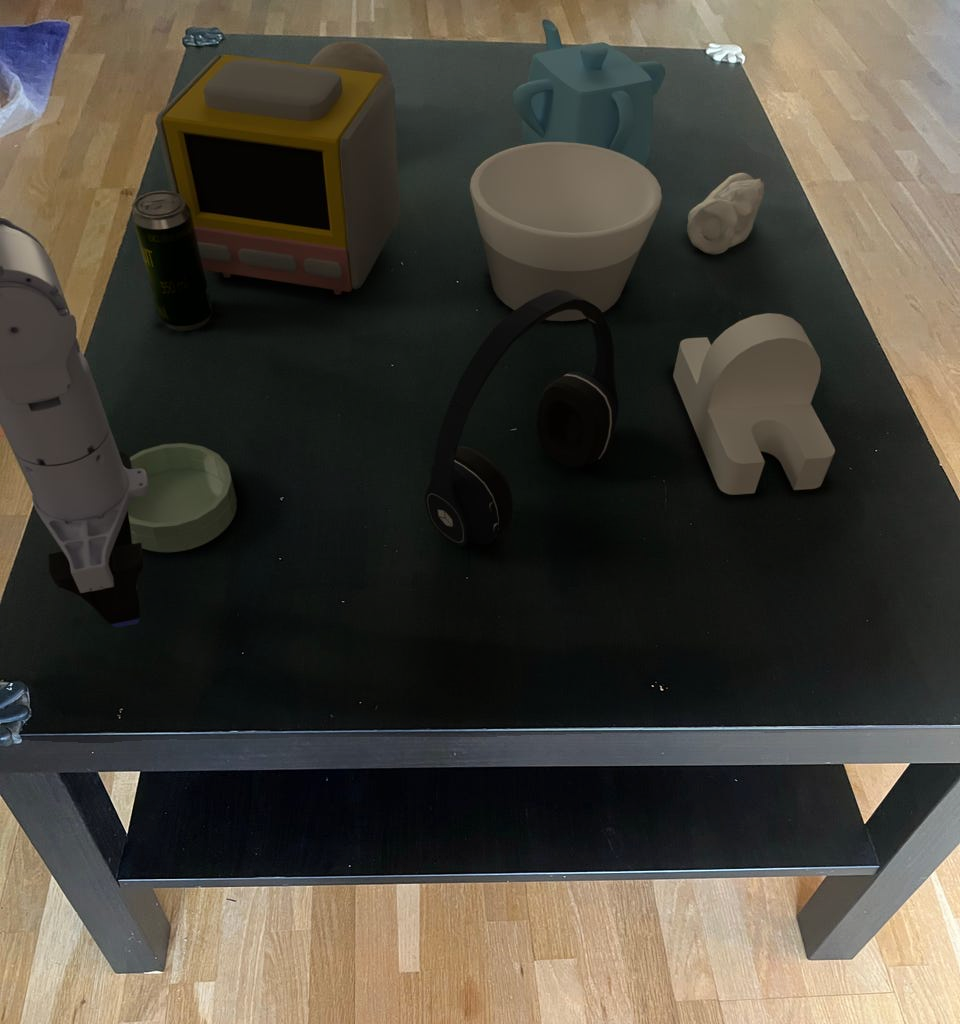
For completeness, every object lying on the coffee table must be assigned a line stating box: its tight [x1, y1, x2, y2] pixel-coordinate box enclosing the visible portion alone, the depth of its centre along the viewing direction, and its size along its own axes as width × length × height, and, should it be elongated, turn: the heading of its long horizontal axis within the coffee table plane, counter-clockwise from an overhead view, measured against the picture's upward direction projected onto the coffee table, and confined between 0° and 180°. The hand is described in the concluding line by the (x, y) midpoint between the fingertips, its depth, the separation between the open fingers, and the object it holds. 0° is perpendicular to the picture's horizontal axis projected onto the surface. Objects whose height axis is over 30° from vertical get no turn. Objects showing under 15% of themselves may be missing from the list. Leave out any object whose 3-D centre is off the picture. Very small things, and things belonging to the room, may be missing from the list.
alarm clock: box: [155, 53, 401, 295], centre depth 98 cm, size 20×16×18 cm
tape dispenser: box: [672, 312, 836, 496], centre depth 86 cm, size 10×18×11 cm, turn 7°
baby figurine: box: [686, 172, 765, 255], centre depth 109 cm, size 9×12×8 cm
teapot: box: [512, 18, 666, 168], centre depth 115 cm, size 18×16×14 cm
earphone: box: [424, 290, 620, 547], centre depth 76 cm, size 20×7×18 cm, turn 137°
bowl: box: [469, 142, 663, 322], centre depth 100 cm, size 19×19×11 cm
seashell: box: [308, 40, 393, 83], centre depth 120 cm, size 15×14×15 cm
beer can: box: [131, 190, 213, 332], centre depth 94 cm, size 5×5×12 cm
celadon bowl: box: [128, 442, 238, 553], centre depth 80 cm, size 10×10×3 cm
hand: (120, 583), depth 68 cm, fingers closed on eraser, 6 cm apart
